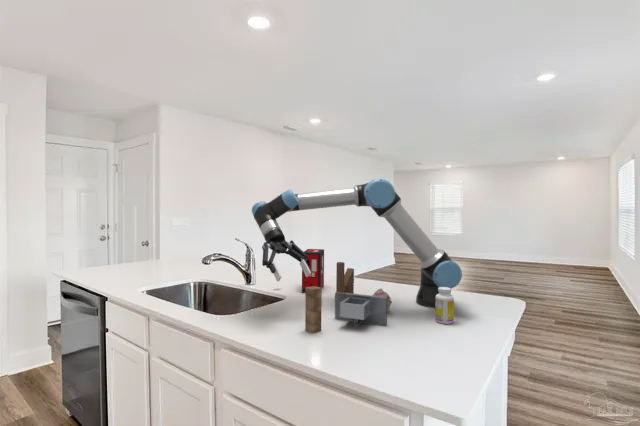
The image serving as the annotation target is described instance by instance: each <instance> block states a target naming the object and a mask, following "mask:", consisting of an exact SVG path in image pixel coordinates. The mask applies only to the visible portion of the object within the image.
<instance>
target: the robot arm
mask: <svg viewBox="0 0 640 426" xmlns="http://www.w3.org/2000/svg"><path fill="white" fill-rule="evenodd" d="M353 205H355V206H356V207H358V208H359V207H370V208H371V209H372V210H373V211H374V212H375V214H376V215H377V217H379V218H384V219H385V220H386V221H387V223H388V224H389V225H390V226H391V228H392V229H393V230H394V231H395V232H396V233H397V235H398V236H399V237H400V238H401V240H402V241H404V243H405V244H406V245H407V247H408V248H409V249H410V250H411V252H412V253H413V254H414V255H415V257H417V259H418V260H419V261H420V284H419V288H418V291H417V293H416V296H415V297H416V298H415V299H416V300H415V303H417V304H418V305H420V306H423V307H426V308H427V307H428V308H435V298H436V295H437V294H439V292H438V288H439V287H448V288H451V290H452V289H454V288H455V287H457V286H458V285H459V284H460V283H461V281H462V278H463V270H462V267H460V265H459V264H458V263H457V262H455V261H454V260H452V258H451V257H450V256H449V254H448V253H447V252H446V251H445V250H444V249H441V248H440V249H439V248H438V247H437V246H436V245H435V244H434V242H433V241H432V240H431V239H430V237H428V235H427V234H426V233H425V231H423V229H422V228H421V227H420V226H419V225H418V223H417V222H416V221H415V220H414V218H413V217H412V216H411V215H410V214H409V213H408V211H407V210H406V209H405V207H404V206H403V205H402V198H401V197H400V196H399V194H398V193H397V192H396V189H395V187H394V186H393V184H392V183H391V182H390V181H389V180H386V179H383V178H374V179H372V180H370V181H369V182H366V183H363V184H357V185H354V186H353V187H349V188H342V189H341V188H340V189H331V190H322V191H314V192H313V191H312V192H302V193H294V191H293V190H291V189H287V190H286V191H283V192H282V193H280V194H279V195H277V196H276V197H275V198H274V199H272V200H270V201H269V202H266V201H260V202H256V203H254V204H253V206H251V207H252V208H251V213H252V216H253V219H254V220H255V223H256V224H257V226H258V228H259V230H260V232H261V235H263V238H264V240H265V241H264V243H263V244H262V246H261V248H262V260H261V261H262V263H261V265H262V266H263V267H266V268H267V269H269V270H270V272H271V274H273V276H274V277H275V280H276V282H280V281H281V279H282V278H283V275H282V274H281V272H280V270H279V268H278V266H277V263H276V262H274V261H275V260H274V259H275V257H276V254H277V255H279V254H286V255H289V256H291V258H293V259H295V260H297V261H298V262H299V265H300V267H301V270H302V269H303V271H304V273H305V275H306V277H308V276H309V275H310V274H311V271H310V269H309V268H308V264H307V262H306V260H307V258H308V255H306V254H305V253H304V251H303V250H302V249H301V248H300V246H299V247H298V245H297V244H296V243H295V242H294V240H292V239H291V240H290V241H287V240H286V237H285V234H284V232H283V231H282V229H281V227H280V225H279V223H278V222H277V219H278V218H280V217H281V216H283V215H285V214H286V213H290V212H297V211H306V210H315V209H316V210H317V209H326V208H327V209H328V208H336V207H345V206H353ZM269 249H270V250H271V254H270V256H269Z"/></svg>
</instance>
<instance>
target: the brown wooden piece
mask: <svg viewBox="0 0 640 426" xmlns="http://www.w3.org/2000/svg"><path fill="white" fill-rule="evenodd" d="M335 276H336V284H335V285H336V289H335V293H336V292H344V293H352V294H355V293H354V291H355V290H354V287H355V285H354V283H355V268H351V267H347V269H346V270H345V262H343V261H337V262H336V275H335Z"/></svg>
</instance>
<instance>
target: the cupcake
mask: <svg viewBox="0 0 640 426" xmlns="http://www.w3.org/2000/svg"><path fill="white" fill-rule="evenodd" d="M371 296H378V297H387V315H388V314H389V312H390V308H391V305H392V303H393V301H392V300H391V297H390V295H389V294H388V293H387V292H386V291H384V289H383V288H382V287H381V288H378V289H376V291H375V292H374V293H373V294H372V295H371Z"/></svg>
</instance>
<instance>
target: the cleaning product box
mask: <svg viewBox="0 0 640 426" xmlns="http://www.w3.org/2000/svg"><path fill="white" fill-rule="evenodd" d="M303 252H304V253H305V254H306V255H308V258H307V260H306V262H307V264H308V268H309V269H310V271H311V274H310V275H309V276H308V277H306V275H305V273H304V271H303V269H302V268H301V294H306V288H307V287H312V286H316V287H320V288H322V290H323V288H324V287H325V280H324V279H325V249H324V248H323V249H322V248H320V249H318V248H307V249H306V250H304V251H303Z"/></svg>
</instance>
